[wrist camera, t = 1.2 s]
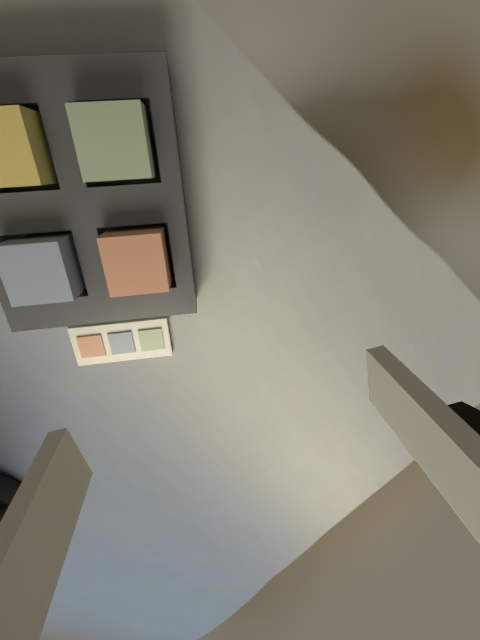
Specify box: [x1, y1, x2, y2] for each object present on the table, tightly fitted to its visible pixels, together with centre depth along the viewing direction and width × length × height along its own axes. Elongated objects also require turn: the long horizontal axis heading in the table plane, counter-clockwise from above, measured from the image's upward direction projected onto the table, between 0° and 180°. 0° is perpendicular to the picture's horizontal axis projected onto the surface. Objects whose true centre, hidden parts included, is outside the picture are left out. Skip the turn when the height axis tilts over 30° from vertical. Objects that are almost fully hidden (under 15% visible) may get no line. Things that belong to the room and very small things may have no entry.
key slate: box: [0, 233, 86, 307], centre depth 26 cm, size 4×4×4 cm
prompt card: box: [67, 316, 173, 366], centre depth 32 cm, size 9×4×1 cm, turn 93°
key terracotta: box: [96, 225, 172, 298], centre depth 26 cm, size 4×4×4 cm
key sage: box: [65, 99, 157, 183], centre depth 23 cm, size 4×4×4 cm
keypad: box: [0, 51, 197, 332], centre depth 26 cm, size 15×18×4 cm
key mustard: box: [0, 105, 59, 188], centre depth 22 cm, size 4×4×4 cm
